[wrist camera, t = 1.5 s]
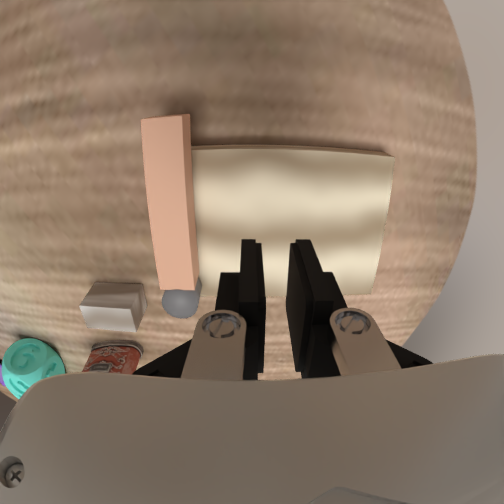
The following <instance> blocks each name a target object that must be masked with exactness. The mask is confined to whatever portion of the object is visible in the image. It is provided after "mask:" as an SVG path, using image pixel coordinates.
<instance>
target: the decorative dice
mask: <svg viewBox="0 0 504 504" xmlns="http://www.w3.org/2000/svg"><path fill="white" fill-rule="evenodd" d="M60 374H65V368H64V364H63V362H62V360H61V358H60V356H59V355H58V354H57V353H56V352H55V351H54V350H53V349H52V348H51V347H50V346H49V345H47V344H46V343H44V342H42V341H40V340H38V339H33V338H26V339H21V340H19V341H17V342H15V343H13V344H12V345H11V346H10V347H9V348H8V349H7V351H6V352H5V355H4V357H3V361H2V377H3V381H4V383H5V385H6V387H7V388H8V389H9V390H10V392H11V393H12V394H13V395H14V396H16V397H17V398H18V399H20V398H21V396H22V395H23V394H24V393H25V391H26V390H27V389H28V388H29V387H30V386H32V385H33V384H34V383H36V382H37V381H39V380H41V379H44V378H47V377H51V376H54V375H60Z"/></svg>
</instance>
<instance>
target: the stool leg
mask: <svg viewBox="0 0 504 504" xmlns="http://www.w3.org/2000/svg"><path fill="white" fill-rule="evenodd" d="M141 132H142V147H143V160H144V172H145V182H146V192H147V201H148V210H149V218H150V226H151V233H152V240H153V247H154V254H155V260H156V267H157V273H158V279H159V284H160V290H165V292H164V295H163V297H162V306H163V308H164V310H165V311H166V312H167V313H168V314H170V315H171V316H173V317H176V318H188V317H191V316H192V315H194V314H195V312H196V311H197V308H198V303H199V298H200V294H201V289H202V284H201V281H200V279H199V278H198V275H199V262H198V250H197V238H196V225H195V210H194V195H193V177H192V156H191V131H190V114H179V115H166V116H155V117H149V118H145V119H141Z"/></svg>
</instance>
